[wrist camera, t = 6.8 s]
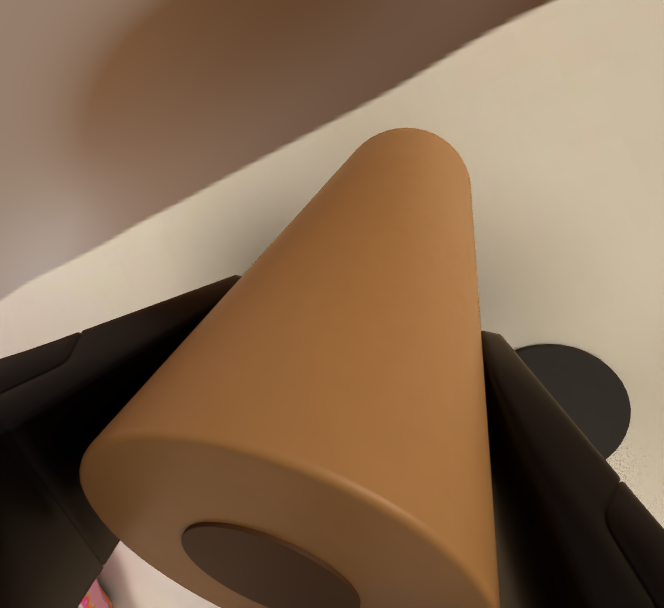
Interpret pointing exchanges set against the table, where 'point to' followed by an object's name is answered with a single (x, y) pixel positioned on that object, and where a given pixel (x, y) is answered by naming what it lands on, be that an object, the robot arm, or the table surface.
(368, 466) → the paper roll
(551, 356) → the coaster
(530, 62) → the table surface
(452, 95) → the table surface
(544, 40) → the table surface
